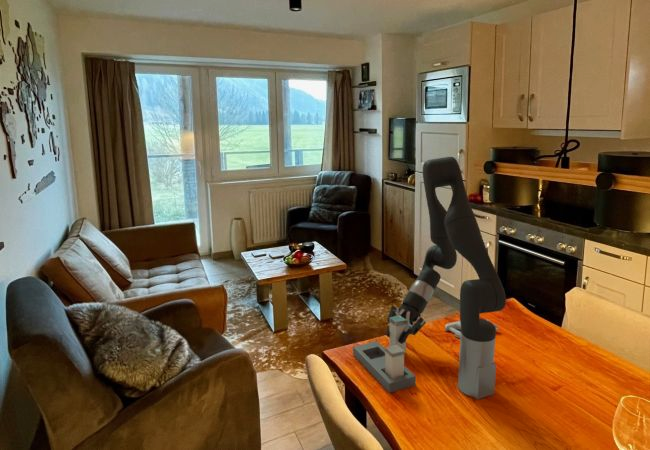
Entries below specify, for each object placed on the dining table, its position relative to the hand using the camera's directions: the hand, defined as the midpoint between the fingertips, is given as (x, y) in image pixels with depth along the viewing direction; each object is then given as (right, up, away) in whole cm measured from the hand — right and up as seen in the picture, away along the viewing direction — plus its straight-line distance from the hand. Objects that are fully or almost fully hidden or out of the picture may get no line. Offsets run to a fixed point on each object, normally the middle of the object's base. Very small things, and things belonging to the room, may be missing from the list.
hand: (393, 339), depth 144 cm
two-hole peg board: (-5, -7, -8) cm, 12 cm away
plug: (+2, -5, +2) cm, 6 cm away
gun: (+31, -1, +16) cm, 34 cm away
